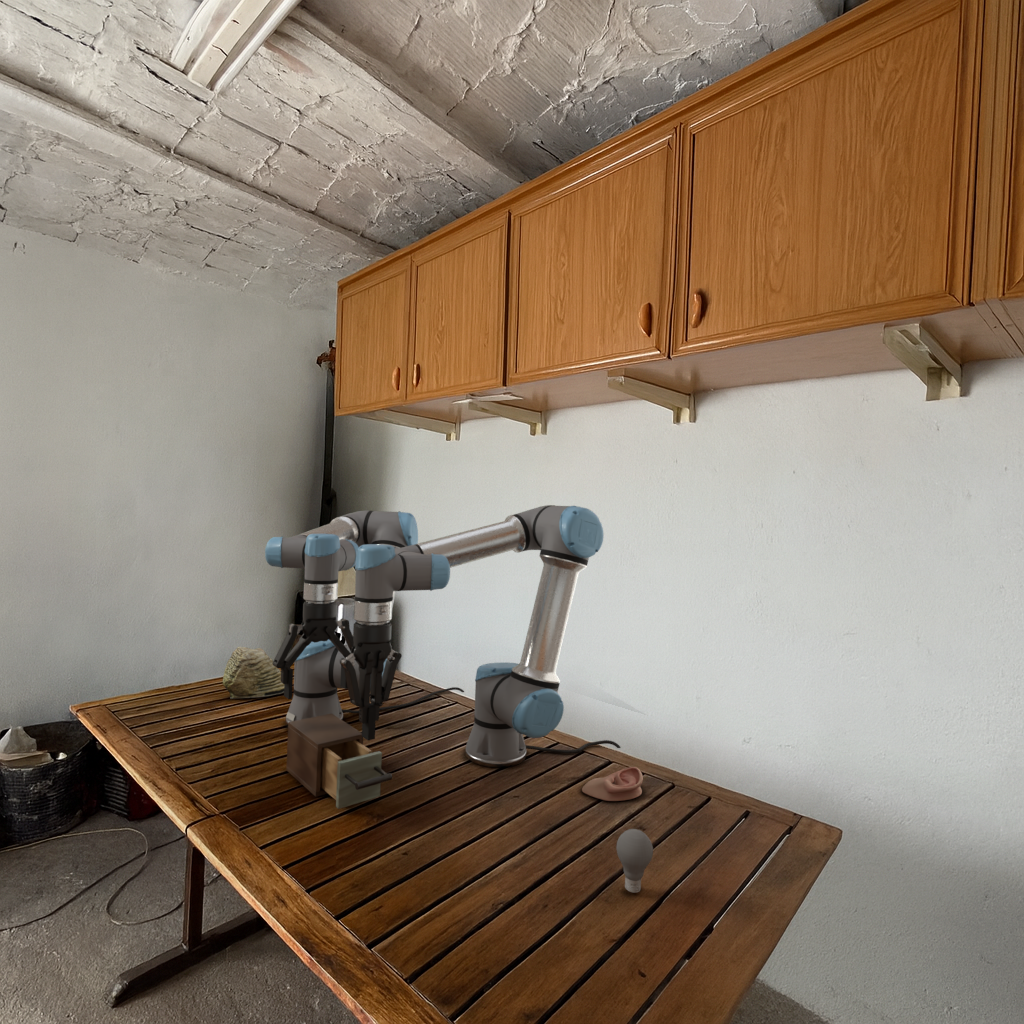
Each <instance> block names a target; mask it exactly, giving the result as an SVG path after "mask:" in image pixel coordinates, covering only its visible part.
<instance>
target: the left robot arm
mask: <svg viewBox="0 0 1024 1024" xmlns="http://www.w3.org/2000/svg"><path fill="white" fill-rule="evenodd" d="M417 523H418V522H417V520H416V517H415V516H414V514H412V513H411V512H404V511H387V510H386V511H384V510H371V509H367V510H358V511H357V510H356V511H354V512H350V513H347V514H343V515H340V516H337V517H334V518H333V519H332V520H331V521H330V522H329V523H327V524H324V525H322V526H319V527H316V528H313V529H310V530H308V531H305V532H302V533H298V534H295V535H293V536H287V537H286V536H273V537H271V538H270V539H268V540H267V543H266V545H265V549H264V554H265V555H264V556H265V557H264V558H265V561H266V562H267V564H268V566H270V567H276V568H281V569H284V568H287V569H304V579H303V597H302V598H303V600H304V602H302V622H301V624H295V623H293V622H291V623H289V624H288V627H287V632H286V635H285V637H284V639H283V641H282V643H281V645H280V647H279V648H278V651H277V653H276V655H275V657H274V659H273V665H274V666H275V667H276V668H278V669H280V672H281V683H283V684H284V692H283V697H285V698H286V699H288V700H291V702H290V704H289V708H288V711H287V713H286V715H285V726H286V728H288V722H292V721H297V720H302V719H307V718H312V717H317V716H322V715H327V714H333V715H335V716H336V717H338V718H339V719H341V720H343V721H344V713H347V714H359V709H358V710H353V709H343V708H342V706H341V702H340V699H339V695H338V689H342V690H343V689H344V690H348V687H347V682H346V677H345V671H344V668H343V667H342V665H341V664H340V659H341V658H346V657H347V656H349V655H350V654H351V649H352V648H353V645H354V642H353V632H352V631H351V629H350V620H348V619H346V618H344V617H343V618H342V617H341V618H340V619H339V620H337V616H338V602H337V601H336V600H338V593H339V592H338V589H339V572H342V571H348V570H350V569H352V568H355V566H356V557H357V551H358V548H359V547H360V546H362V545H366V544H379V545H380V544H382V545H391V546H393V547H398V548H402V547H406V546H410V545H415V544H418V543H419V529H418V524H417ZM396 593H397V591H393V600H392V609H393V607H394V603H395V598H396ZM389 622H391V620H390V621H389ZM337 628H339V629H340V632H341V634H342V636H343V638H344V640H345V642H346V644H344V643H343V642H342V641H341V639H339V636H337V634H336V633H335V631H336V630H337ZM301 631H302V635H301V636H300V637H299V638H298V641H297V643H295V641H296V638H297V636H298V635H299V634H300V632H301ZM294 643H295V645H294ZM293 645H294V647H293ZM291 648H292V649H291ZM386 661H387V659H386V660H385V662H384V668H385V664H386ZM354 662H355V666H354V668H355V671H356V676H357V682H358V687H359V674H360V672H359V665H358V663H357V662H356V660H354ZM293 665H294V669H293V668H291V667H292V666H293ZM383 672H384V670H383ZM383 672H382V676H383ZM370 684H371V680H370ZM449 691H459V692H461V693H465V690H464V689H462V688H460V687H457V686H456V687H455V686H453V687H448V688H445V689H440V690H436V691H433V692H431V693H429V694H426V695H424V696H421V697H419V698H416V699H415V700H412V701H409V702H406V703H402V704H397V705H390V706H383V707H382V706H381V707H380V708H379V712H380V711H386V710H393V709H400V708H403V707H408V706H411V705H414V704H417V703H418V702H422V701H423V700H425V699H428V698H430V697H432V696H434V695H438V694H442V693H446V692H449Z"/></svg>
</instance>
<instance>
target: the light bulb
mask: <svg viewBox="0 0 1024 1024" xmlns="http://www.w3.org/2000/svg"><path fill="white" fill-rule="evenodd" d="M615 849H616V854H617V857H618V859H619V861H620V863H621V865H622V867H623V873H624V874H623V875H624V876H625V878H624V888H625V890H627V891H628V892H630V893H634V894H635V893H639V892H640V891H641V889H642V887H641V886H642V879H643V877H644V875H645V871H646V868H647V867H648V866H649V864H650V863H651V861H652V859H653V855H654V847H653V843H652V841H651V838H649V836H648V835H647V834H646V833H645V832H643V831H642V830H641V829H636V828H629V829H627V830H625V831H623V832H622V833H621V834H620V835H619V837H618V839H617V841H616V847H615Z"/></svg>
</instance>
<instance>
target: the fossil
mask: <svg viewBox="0 0 1024 1024" xmlns="http://www.w3.org/2000/svg"><path fill="white" fill-rule="evenodd" d="M273 661H274V659H272V658H271V657H270V656H269V655H268V654H267V653H266V652H265V650H264V649H263V648H260V647H258V648H251V647H247V646H246V647H245V646H238V647H237V648H236V649H235V650H233V651H232V653H231V656H230V657H229V659H228V660H227V663H226V666H225V668H224V671H223V675H222V676H223V677H222V685H223V687H224V688H225V690H226V691H228V693H229V698H230V699H250V698H264V697H271V696H275V695H281V694H284V684H283V683H281V669H280V668H277V667H275V666H274V665H273Z"/></svg>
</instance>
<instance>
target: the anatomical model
mask: <svg viewBox="0 0 1024 1024" xmlns="http://www.w3.org/2000/svg"><path fill="white" fill-rule="evenodd" d="M643 782H644V775H643V773H642V771H641V770H640V769H639V768H638V767H637V766H630V767H625V768H623V769H620V770H617V771H615V772H613V773H610V774H608V775H605V776H604V777H596V778H595V777H594V778H592V779H590V780H588V781H587V782H586V783H585V784H584V785H583V786H582V788H581V792H582V793H583V794H585V795H587V796H590V797H593V798H595V799H598V800H602V801H606V802H619V801H621V802H622V801H628V800H633V799H635V798H638V797H640V796H641V795H642V793H643V789H642V787H641V786H642V784H643Z"/></svg>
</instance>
